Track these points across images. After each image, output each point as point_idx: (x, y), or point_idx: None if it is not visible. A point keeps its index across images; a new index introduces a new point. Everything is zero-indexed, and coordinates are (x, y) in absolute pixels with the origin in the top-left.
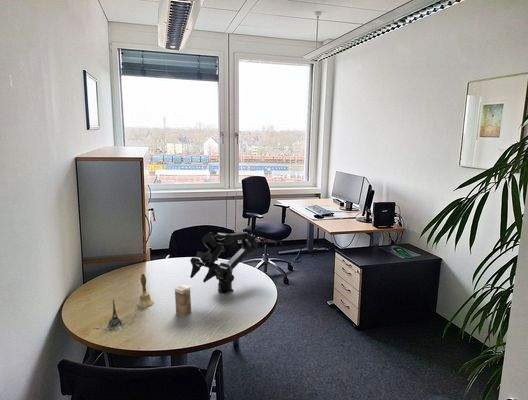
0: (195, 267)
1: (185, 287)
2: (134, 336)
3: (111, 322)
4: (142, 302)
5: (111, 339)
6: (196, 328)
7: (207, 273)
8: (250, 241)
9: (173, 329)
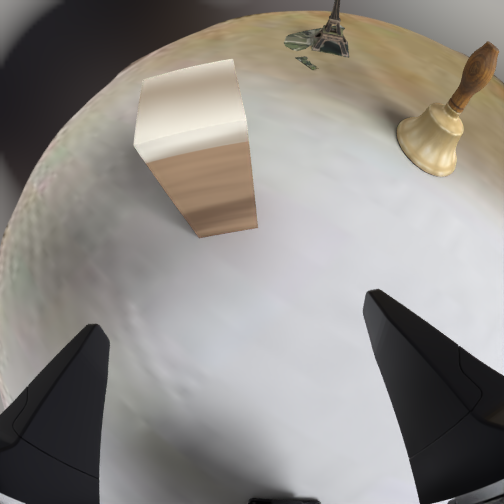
0: (466, 439)
1: (165, 113)
2: (220, 48)
3: (345, 44)
4: (417, 117)
5: (254, 25)
6: (86, 185)
7: (27, 415)
8: None
9: None
